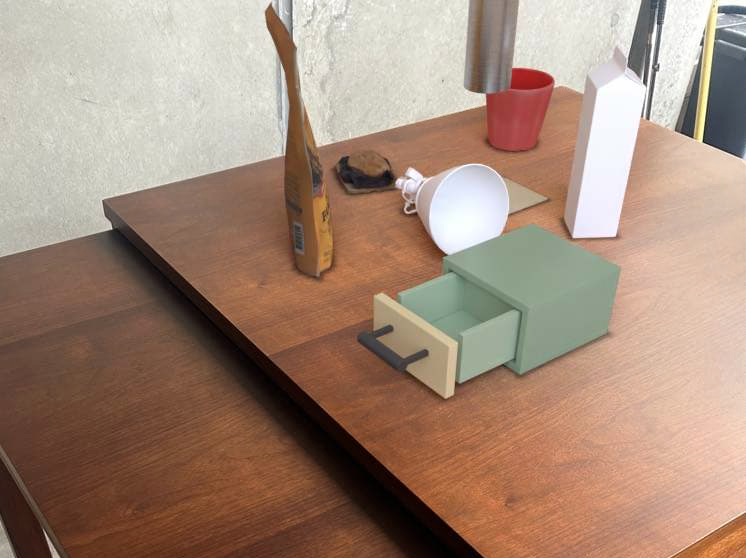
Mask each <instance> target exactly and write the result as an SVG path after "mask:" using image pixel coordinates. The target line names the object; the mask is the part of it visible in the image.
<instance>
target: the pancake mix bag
mask: <svg viewBox="0 0 746 558" xmlns="http://www.w3.org/2000/svg"><path fill="white" fill-rule="evenodd" d="M264 17H265V25H266V29H267V31H268V32H269V34H270V37H271V39H272V41H273V45H274V47H275V49H276V52H277V55H278V58H279V61H280V64H281V66H282V68H283V71H284V79H285V84H286V89H287V91H286V92H287V98H288V118H287V119H288V120H287V130H286V141H285V149H284V150H285V151H284V178H283V180H284V181H283V188H284V189H283V190H284V203H285V213H286V220H287V226H288V233H289V239H290V242H291V247H292V253H293V256H294V259H295V263H296V269H298V270H299V271H300V272H302V273H303V274H306V275H308V276H312V277H316V278H320V275H321V273H322V272H325V271H327V270H329V269H331V265H332V261H333V255H334V234H333V219H332V211H331V209H332V208H331V202H330V196H329V189H328V185H327V181H326V177H325V173H324V167H323V165H322V161H321V156H320V153H319V150H318V146H317V143H316V140H315V135H314V132H313V128H312V126H311V125H312V124H311V122H310V118H309V115H308V112H307V108H306V106H305V102H304V99H303V96H302V88H301V79H300V78H301V77H300V70H299V69H300V68H299V65H298V60H297V59H298V57H297V53H298V47H297V45H296V44H295V42H294V40H293V38H292V36H291V34H290V31H289V30H288V28H287V26H286V24H285V22H284V21H283V20H282V19H281V18H280V16H279V15H278V14H277V12H276V10H275V8H274V7H273V1H271V2H270V3H269V4H268V6H267V7H266V8H265V10H264Z"/></svg>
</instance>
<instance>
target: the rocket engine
mask: <svg viewBox="0 0 746 558" xmlns="http://www.w3.org/2000/svg"><path fill="white" fill-rule="evenodd" d="M404 175H405V176H403V175H401V176H400V177H398V178H397V179H396V180H395V183H396V185H397V187H396V188H395V189H399V190H401V195H402V196H401V197H402V198H403V199H404V200H405V202H404V207H403V211H404V213H405V214H406V215H410V214H414V213H416V214H417V215H418V217H419V218H420V220H421V223H422V224H423V227H424V229H425V231H426V233H427V234H428V236H429V237H430V239H431V240H432V242H434V244H435V245H436V246H437V247H438V248H439V249H440V250H441V252H443V253H444V254H446V255H447V256H448V255H451V254H453V253H456V252H459V251H461V250H464V249H466V248H469V247H472V246H474V245H477V244H479V243H482V242H485V241H487V240H490V239H492V238H495V237H497V236H500V235H502V233H503V231H504V229H505V226H506V224H507V222H508V217H509V214H508V212H509V197H508V191H507V188H506V185H505V183H504V181H503V180H502V178H501V176H502V175H500V174H499V173H498V172H497V171H496V170H495V169H493V168H492V167H490V166H488V165H486V164H482V163H468V164H462V165H457V166H454V167H451V168H449V169H447V170H444V171H442V172H440V173H437V174H436V175H434V176H430V177H424V176H423V175H422V174H421V173H420V172H419V171H418V170H416V169H415V168H413V167H411V166H409V167H408V169H407V171H406V172H405V174H404ZM408 178H409V179H408ZM405 194H407V195H409V198H407V197H406V196H405ZM411 204H414V205H415V209H412V210H410V211H408V210H407V209H408V208H410V207H411Z"/></svg>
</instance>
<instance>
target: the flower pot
mask: <svg viewBox="0 0 746 558" xmlns="http://www.w3.org/2000/svg"><path fill="white" fill-rule="evenodd" d="M555 83H556V81H555V78H554V77H553V75H551V74H549V73H548V72H545V71H543V70H539V69H534V68H528V67H527V68H525V67H512V76H511V86H510V88H509V89H508V90H506V91H504V92H500V93H494V94H485V104H486V105H485V107H486V125H487V135H488V136H487V137H488V143H489V144H490V145H491V146H492V147H494V148H496V149H499V150H503V151H510V152H520V151H526V150H530V149H532V148H533V147H536V145H537V143H538V139H539V136H540V134H541V130H542V127H543V124H544V121H545V119H546V115H547V112H548V108H549V105H550V101H551V98H552V94H553V92H554V88H555V85H556V84H555Z"/></svg>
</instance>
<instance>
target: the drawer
mask: <svg viewBox="0 0 746 558" xmlns="http://www.w3.org/2000/svg"><path fill="white" fill-rule="evenodd" d="M521 319H522V311H520V310H519V309H517V308H515V307H514V306H512V305H510V304H509V303H507V302H505V301H503V300H502V299H500V298H498V297H497V296H495V295H493V294H492V293H490V292H488V291H487V290H485V289H483V288H481V287H480V286H478V285H476V284H475V283H473V282H471V281H470V280H468V279H466V278H465V277H463V276H461V275H459V274H458V273H456V272H454V271H453V272H450V273H447V274H445V275H442V274H441V275H440V276H437V277H435V278H432V279H430V280H428V281H425V282H422V283H420V284H418V285H414V286H412V287H409V288H407V289H404V290H402V291H400V292H397V293H396V300H394V299H393V298H392V297H390V296H388V295H387V294H385V293H384V292H380V293H377V294H375V295H373V331H371V332H368V331H366V330H362V331H360V332H359V333H358V334H357V338H356V341H357V343H358V344H360V345H361V346H363V347H364V348H365V349H367V350H368V351H369V352H371V353H372V354H373V355H374V356H375V357H377V358H379V359H380V360H382V361H383V362H384V363H385V364H387V365H388V366H390V367H391V368H393V369H394V371H396V372H398V373H403V372H405V371H407V372H408V373H410V374H411V375H412V376H414V377H415V378H416V379H418V380H419V381H420V382H422V383H423V384H425V385H426V386H427V387H429V388H430V389H431V390H433V391H434V392H436V393H437V394H438V395H439V396H441V397H442V398H444V399H445V400H446V399H449V398H450V397H452V396H454V395H455V385H456V383H458V384H459V385H460V384H462V383H465V382H466V381H469V380H471V379H473V378H475V377H478V376H479V375H481V374H484V373H486V372H488V371H490V370H492V369H495V368H497V367H499V366H502V365H504V364H503V363H505V362H507V361H510V360H512V359H514V358H516V356H517V349H518V341H519V334H520V327H521Z"/></svg>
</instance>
